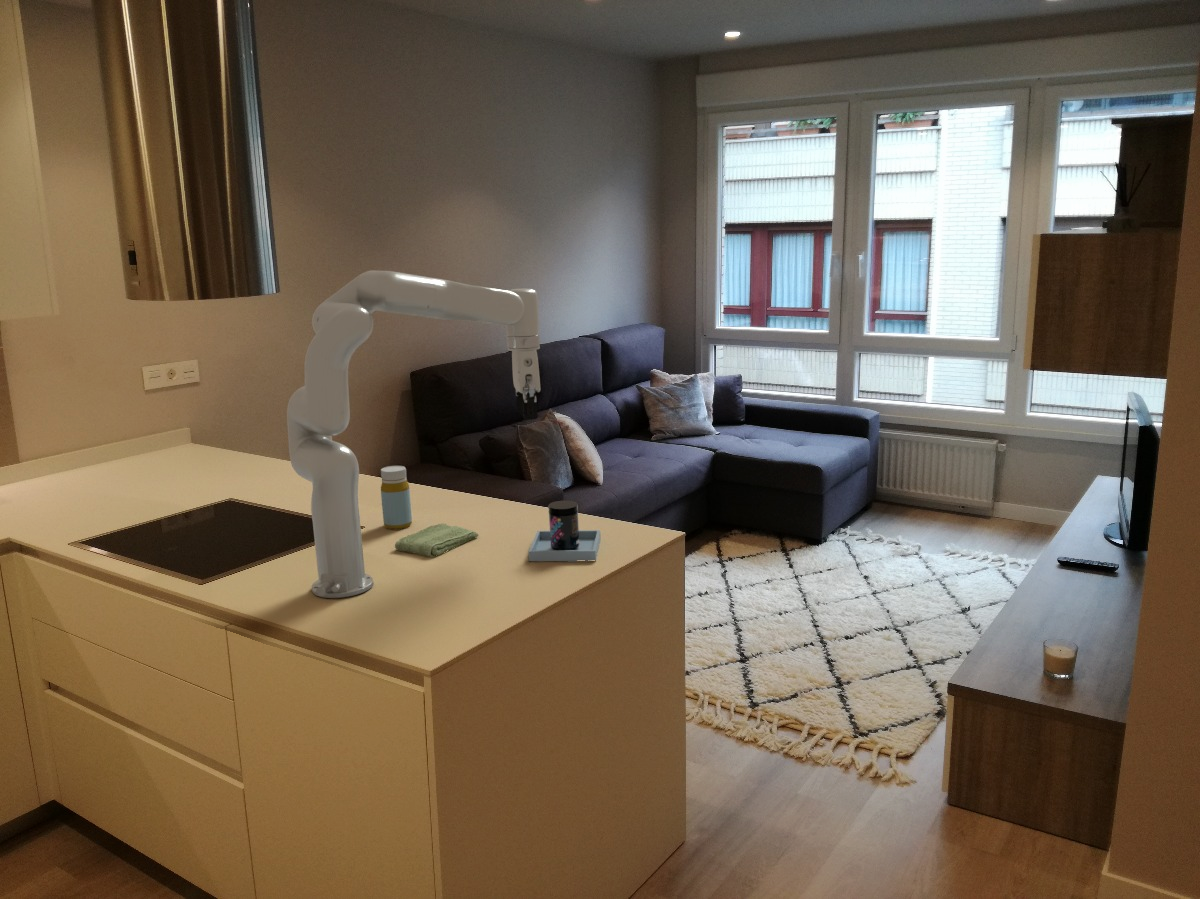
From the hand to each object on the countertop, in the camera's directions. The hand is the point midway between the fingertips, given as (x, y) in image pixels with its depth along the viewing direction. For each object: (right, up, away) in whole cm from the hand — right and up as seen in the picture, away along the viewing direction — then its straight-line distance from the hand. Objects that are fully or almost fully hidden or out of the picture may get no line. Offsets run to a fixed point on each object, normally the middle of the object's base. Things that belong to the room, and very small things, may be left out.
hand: (526, 415), depth 233 cm
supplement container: (+9, -31, -5) cm, 33 cm away
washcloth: (-22, -31, +4) cm, 38 cm away
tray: (+9, -31, -4) cm, 33 cm away
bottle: (-34, -28, +19) cm, 48 cm away
